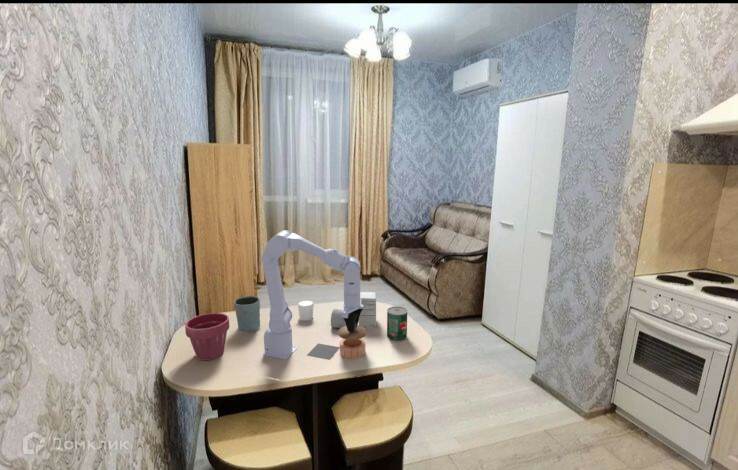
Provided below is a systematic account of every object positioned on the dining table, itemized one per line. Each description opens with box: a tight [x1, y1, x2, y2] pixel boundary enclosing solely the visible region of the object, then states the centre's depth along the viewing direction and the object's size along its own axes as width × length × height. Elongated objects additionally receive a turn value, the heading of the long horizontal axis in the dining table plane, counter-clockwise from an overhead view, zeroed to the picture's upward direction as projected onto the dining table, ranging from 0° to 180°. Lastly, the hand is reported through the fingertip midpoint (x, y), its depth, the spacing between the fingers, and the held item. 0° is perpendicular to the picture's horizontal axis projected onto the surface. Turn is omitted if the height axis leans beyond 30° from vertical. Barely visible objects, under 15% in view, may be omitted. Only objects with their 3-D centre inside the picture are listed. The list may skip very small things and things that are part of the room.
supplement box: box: [358, 291, 377, 328], centre depth 156 cm, size 7×7×13 cm
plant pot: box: [184, 312, 230, 361], centre depth 131 cm, size 14×14×13 cm
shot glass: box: [297, 299, 314, 322], centre depth 161 cm, size 7×7×7 cm
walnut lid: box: [337, 322, 367, 340], centre depth 131 cm, size 10×10×4 cm
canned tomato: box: [386, 306, 409, 342], centre depth 144 cm, size 8×8×11 cm
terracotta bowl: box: [339, 338, 366, 359], centre depth 132 cm, size 9×9×4 cm
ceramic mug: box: [330, 308, 346, 329], centre depth 154 cm, size 11×8×8 cm
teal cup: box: [233, 295, 261, 333], centre depth 151 cm, size 10×10×12 cm
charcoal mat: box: [306, 342, 340, 361], centre depth 133 cm, size 9×9×1 cm
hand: (352, 328), depth 131 cm, fingers closed on walnut lid, 3 cm apart
